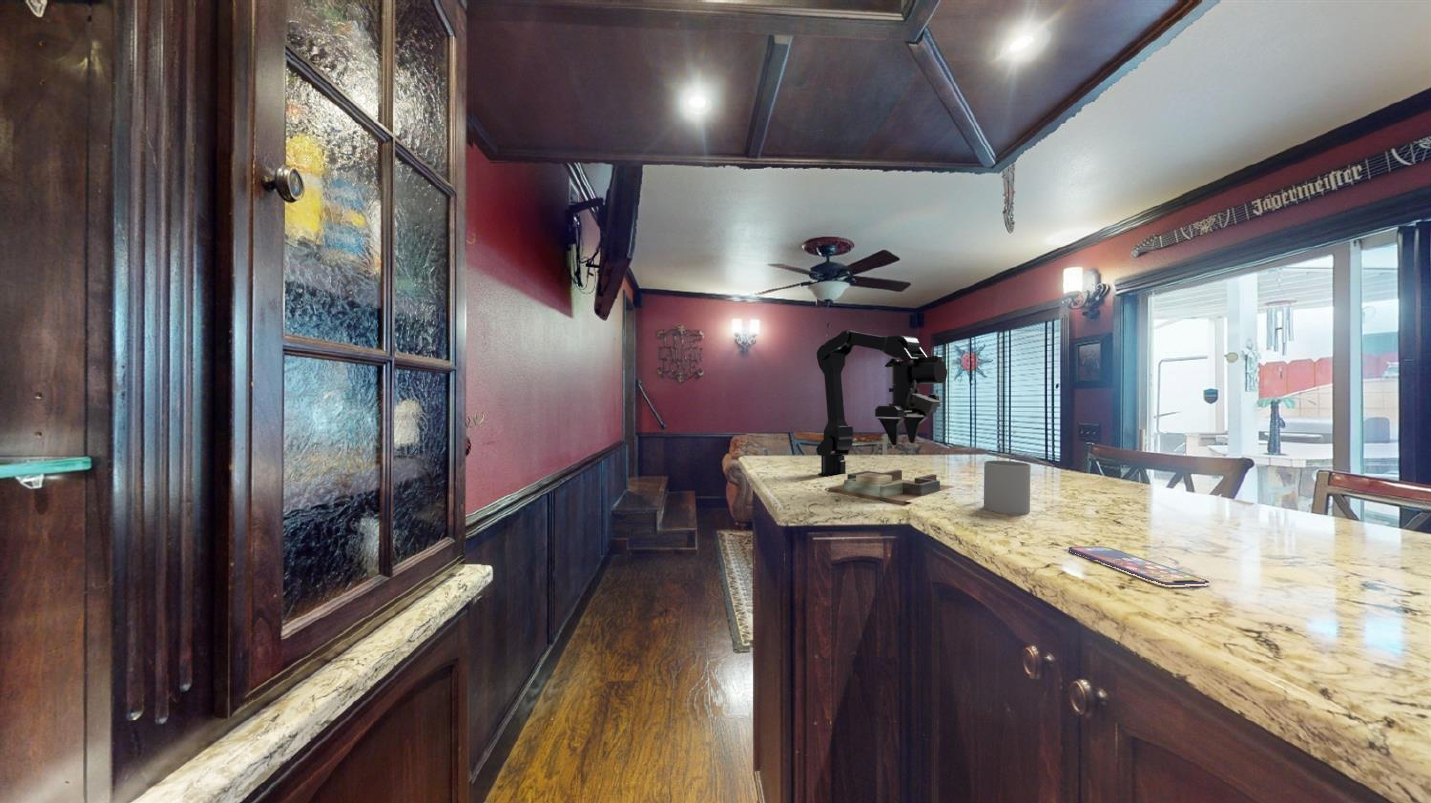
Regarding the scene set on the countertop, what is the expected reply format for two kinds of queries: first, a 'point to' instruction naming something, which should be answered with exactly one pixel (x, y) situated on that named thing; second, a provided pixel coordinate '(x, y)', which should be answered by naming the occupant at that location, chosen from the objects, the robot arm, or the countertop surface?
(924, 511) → the countertop surface
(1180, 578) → the smartphone
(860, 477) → the maple block
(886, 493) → the trap lane
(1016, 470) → the cup
